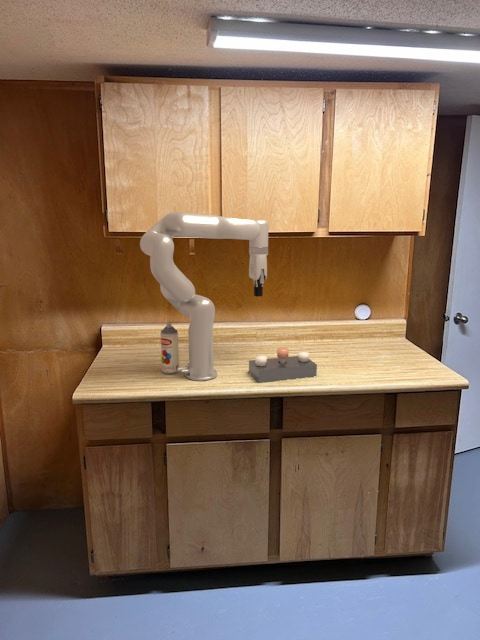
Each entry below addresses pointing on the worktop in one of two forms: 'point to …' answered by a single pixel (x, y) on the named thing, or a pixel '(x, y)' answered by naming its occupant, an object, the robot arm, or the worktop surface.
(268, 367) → the knob panel
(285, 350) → the middle knob
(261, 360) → the near knob
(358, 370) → the worktop surface
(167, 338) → the aerosol can
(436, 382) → the worktop surface
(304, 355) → the far knob
